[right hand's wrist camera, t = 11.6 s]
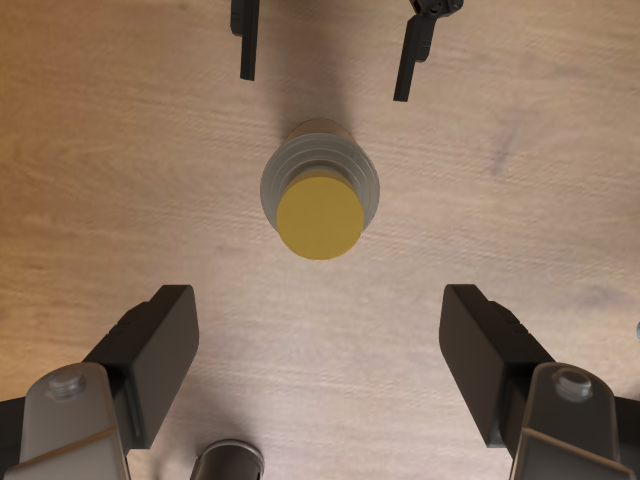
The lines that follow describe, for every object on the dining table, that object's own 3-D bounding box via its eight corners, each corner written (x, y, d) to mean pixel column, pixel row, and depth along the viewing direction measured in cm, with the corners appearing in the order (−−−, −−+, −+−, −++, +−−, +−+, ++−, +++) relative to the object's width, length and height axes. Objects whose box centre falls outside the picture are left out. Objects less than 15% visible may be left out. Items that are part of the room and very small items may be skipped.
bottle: (332, 204, 44) (344, 308, 22) (271, 169, 43) (220, 243, 21) (369, 142, 42) (424, 191, 20) (306, 104, 40) (290, 110, 18)
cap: (333, 260, 23) (335, 275, 21) (265, 223, 22) (260, 235, 20) (375, 195, 21) (381, 204, 20) (304, 153, 21) (302, 159, 19)
